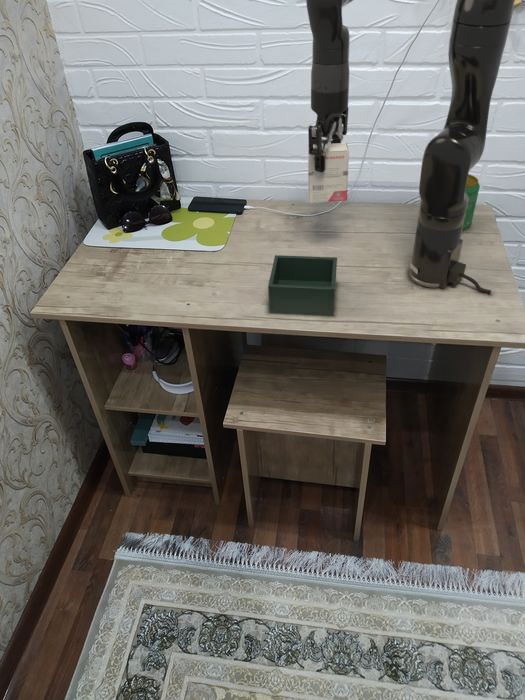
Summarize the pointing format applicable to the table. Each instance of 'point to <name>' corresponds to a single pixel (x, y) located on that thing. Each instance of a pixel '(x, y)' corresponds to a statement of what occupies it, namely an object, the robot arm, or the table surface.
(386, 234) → the table surface
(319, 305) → the bin
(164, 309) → the table surface
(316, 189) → the ink box
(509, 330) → the table surface
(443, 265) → the robot arm
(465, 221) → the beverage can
